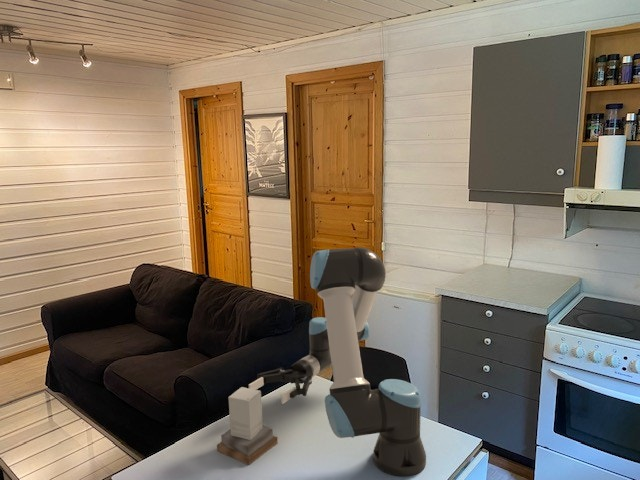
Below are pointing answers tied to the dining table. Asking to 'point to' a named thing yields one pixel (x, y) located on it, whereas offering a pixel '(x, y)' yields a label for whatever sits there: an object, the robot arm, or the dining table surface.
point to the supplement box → (245, 413)
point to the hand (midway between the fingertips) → (265, 394)
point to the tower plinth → (247, 458)
